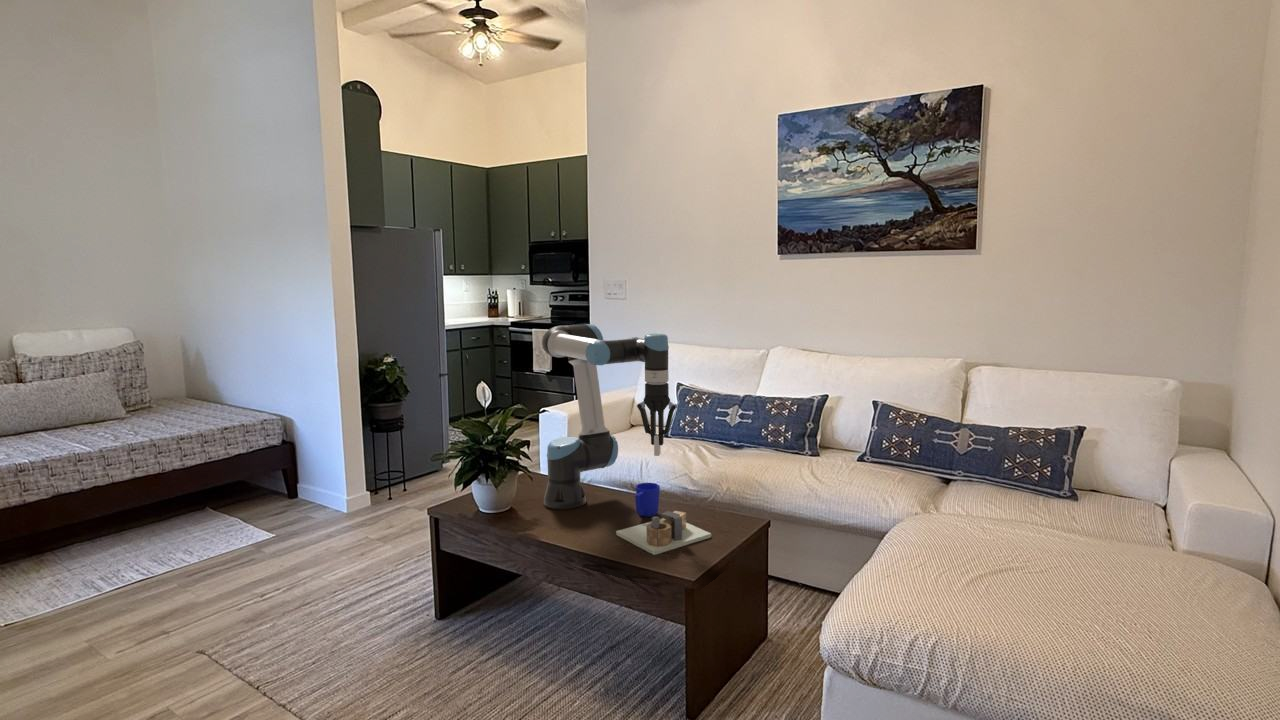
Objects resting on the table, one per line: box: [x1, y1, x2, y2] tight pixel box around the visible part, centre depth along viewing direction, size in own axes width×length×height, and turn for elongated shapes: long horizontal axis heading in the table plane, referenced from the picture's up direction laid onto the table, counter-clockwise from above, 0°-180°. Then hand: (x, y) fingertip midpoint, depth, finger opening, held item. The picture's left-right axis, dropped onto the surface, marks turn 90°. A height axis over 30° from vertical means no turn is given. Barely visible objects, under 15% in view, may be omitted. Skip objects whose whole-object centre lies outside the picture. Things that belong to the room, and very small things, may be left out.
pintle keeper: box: [651, 510, 682, 541], centre depth 213 cm, size 7×10×9 cm
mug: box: [634, 482, 661, 518], centre depth 237 cm, size 8×12×10 cm
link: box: [647, 510, 687, 547], centre depth 216 cm, size 18×7×5 cm, turn 149°
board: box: [615, 518, 712, 556], centre depth 219 cm, size 20×22×1 cm
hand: (657, 454), depth 224 cm, fingers closed
